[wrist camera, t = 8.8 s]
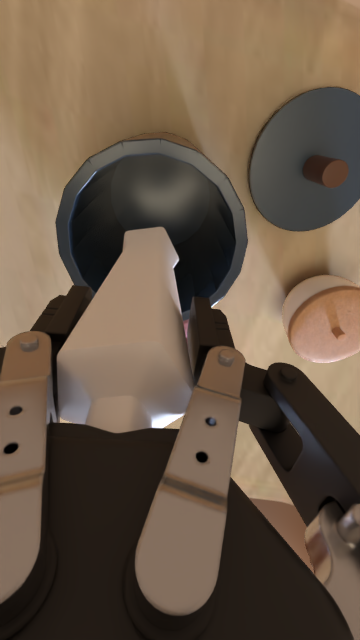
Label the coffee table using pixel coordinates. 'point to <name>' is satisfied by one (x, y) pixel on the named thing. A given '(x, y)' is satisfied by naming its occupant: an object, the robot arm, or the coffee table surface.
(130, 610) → the robot arm
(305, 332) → the trinket box
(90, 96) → the coffee table surface
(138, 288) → the perfume bottle
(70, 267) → the canister
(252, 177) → the lid
